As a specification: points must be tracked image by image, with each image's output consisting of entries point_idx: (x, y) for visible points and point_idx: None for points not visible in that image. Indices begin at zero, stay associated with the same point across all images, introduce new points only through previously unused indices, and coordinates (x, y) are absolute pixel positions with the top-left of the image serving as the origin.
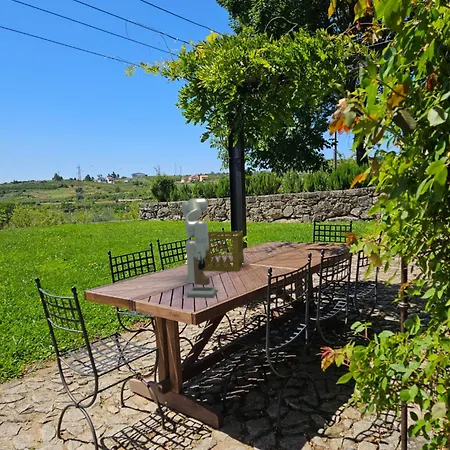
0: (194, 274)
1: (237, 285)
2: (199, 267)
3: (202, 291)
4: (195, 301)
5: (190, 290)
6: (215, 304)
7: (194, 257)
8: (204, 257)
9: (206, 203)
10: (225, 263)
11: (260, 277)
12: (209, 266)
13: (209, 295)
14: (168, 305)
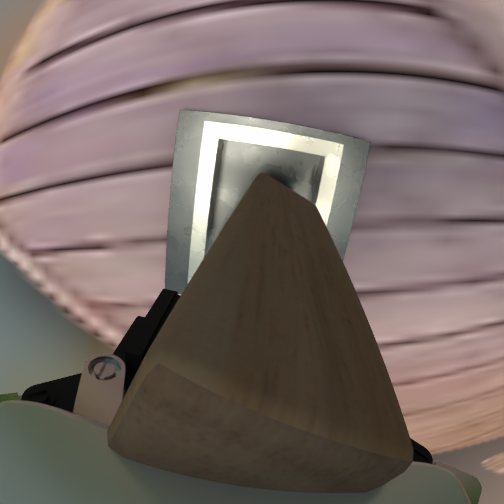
0: (248, 190)
1: (417, 392)
2: (134, 324)
3: (192, 230)
4: (94, 183)
5: (220, 130)
6: (60, 290)
7: (131, 399)
8: None
9: None
10: None
11: (483, 436)
12: None
13: (183, 268)
14: (42, 52)
